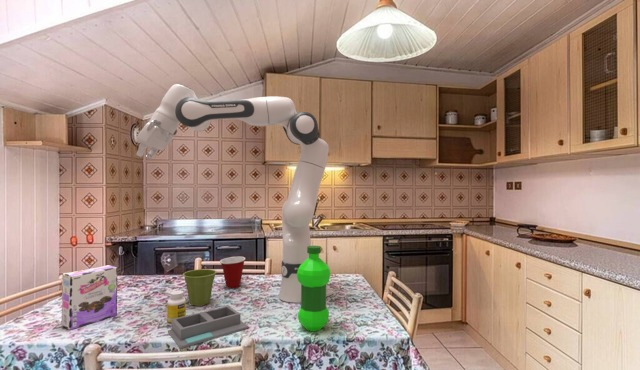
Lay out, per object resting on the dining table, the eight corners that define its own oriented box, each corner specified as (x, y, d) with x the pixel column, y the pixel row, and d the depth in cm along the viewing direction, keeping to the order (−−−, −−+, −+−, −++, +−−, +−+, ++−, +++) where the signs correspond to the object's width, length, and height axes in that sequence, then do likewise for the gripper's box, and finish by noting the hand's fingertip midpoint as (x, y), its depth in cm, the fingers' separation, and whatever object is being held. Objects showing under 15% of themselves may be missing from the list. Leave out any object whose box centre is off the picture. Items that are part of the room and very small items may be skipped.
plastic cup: (217, 284, 145) (218, 257, 145) (242, 281, 149) (242, 255, 149) (221, 291, 135) (221, 262, 135) (247, 288, 140) (248, 260, 140)
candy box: (69, 330, 99) (69, 276, 98) (61, 326, 102) (61, 273, 102) (117, 315, 110) (118, 266, 110) (108, 311, 113) (109, 264, 113)
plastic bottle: (330, 320, 107) (330, 244, 107) (329, 335, 96) (329, 250, 96) (299, 319, 107) (300, 243, 107) (295, 334, 97) (295, 249, 97)
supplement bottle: (178, 327, 101) (178, 295, 101) (163, 325, 103) (163, 294, 102) (189, 320, 107) (189, 290, 107) (174, 318, 108) (174, 288, 108)
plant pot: (223, 301, 124) (223, 271, 124) (195, 311, 114) (195, 279, 114) (203, 295, 131) (203, 267, 131) (175, 304, 121) (176, 273, 121)
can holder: (231, 315, 111) (231, 304, 111) (248, 328, 101) (248, 316, 101) (167, 332, 98) (167, 320, 98) (180, 348, 88) (180, 335, 88)
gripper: (162, 123, 110) (141, 159, 109) (178, 133, 130) (160, 163, 129) (145, 113, 109) (123, 149, 108) (163, 125, 129) (145, 155, 128)
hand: (143, 157), depth 119 cm, fingers open, 8 cm apart
